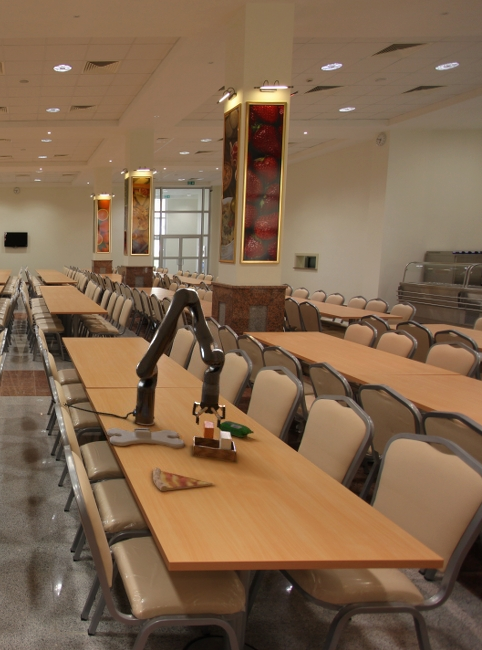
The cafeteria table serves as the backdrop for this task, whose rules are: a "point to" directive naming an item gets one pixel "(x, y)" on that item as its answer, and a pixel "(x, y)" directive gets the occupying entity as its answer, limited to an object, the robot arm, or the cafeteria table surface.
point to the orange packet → (208, 429)
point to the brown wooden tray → (212, 449)
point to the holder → (144, 437)
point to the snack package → (235, 429)
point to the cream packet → (225, 440)
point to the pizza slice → (175, 481)
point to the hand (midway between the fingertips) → (207, 425)
